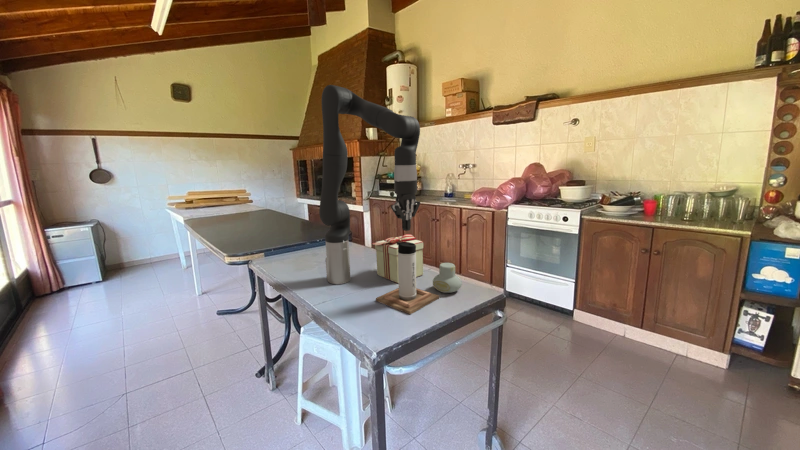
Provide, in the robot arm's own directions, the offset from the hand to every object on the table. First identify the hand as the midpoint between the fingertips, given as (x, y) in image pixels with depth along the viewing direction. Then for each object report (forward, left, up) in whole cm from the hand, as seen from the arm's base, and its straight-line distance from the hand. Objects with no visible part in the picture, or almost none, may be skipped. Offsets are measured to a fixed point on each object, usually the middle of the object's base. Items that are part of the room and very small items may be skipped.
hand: (406, 230), depth 110 cm
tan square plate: (0, 0, -25) cm, 25 cm away
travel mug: (0, 0, -24) cm, 25 cm away
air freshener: (+6, +16, -26) cm, 31 cm away
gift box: (-20, +16, -26) cm, 36 cm away
